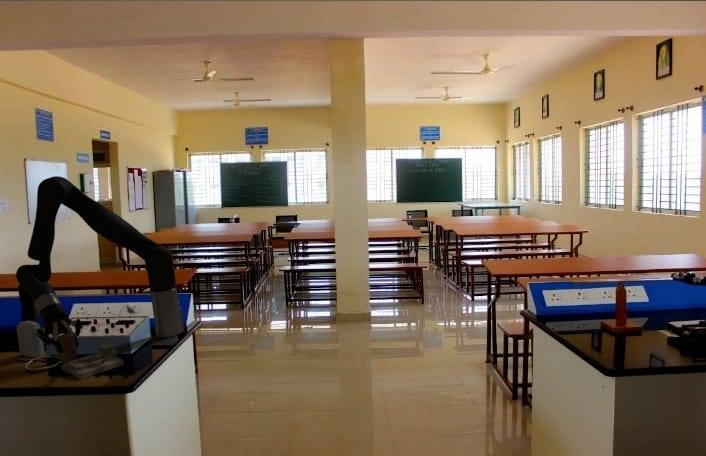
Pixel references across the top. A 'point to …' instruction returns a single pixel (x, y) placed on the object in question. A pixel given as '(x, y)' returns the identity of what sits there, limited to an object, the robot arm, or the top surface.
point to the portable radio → (27, 306)
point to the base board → (94, 362)
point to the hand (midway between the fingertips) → (69, 349)
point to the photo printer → (29, 339)
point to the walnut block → (67, 348)
